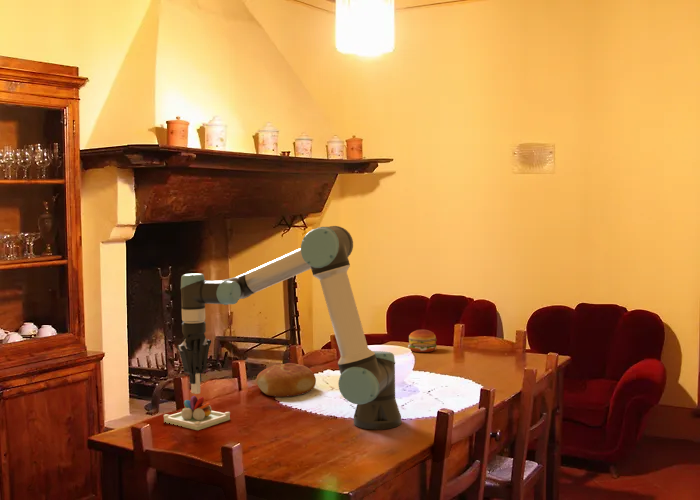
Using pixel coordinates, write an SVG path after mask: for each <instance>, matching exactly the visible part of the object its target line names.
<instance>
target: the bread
mask: <svg viewBox="0 0 700 500" xmlns="http://www.w3.org/2000/svg"><path fill="white" fill-rule="evenodd" d="M316 381H317V378H316V375H315V373H314V372H313V371H312V370H311V369H310V368H309V367H308V366H305V365H303V364H299V363H298V364H297V363H294V362H293V363H292V362H287V363H283V364H282V363H278V364H273V365H271V366H269V367H267V368H265V369H263V370H262V371H260V372H259V373H258V374H257V376H256V384H257V386H258V388H259V389H260V391H261V392H262V393H263V394H265V395H266V396H271V397H280V398H281V397H282V398H286V397H295V396H300V395H303V394H306V393H307V394H308V393H309V392H311V391H312V390H313V389H314V388H315V386H316V385H317V384H316V383H317V382H316Z"/></svg>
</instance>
